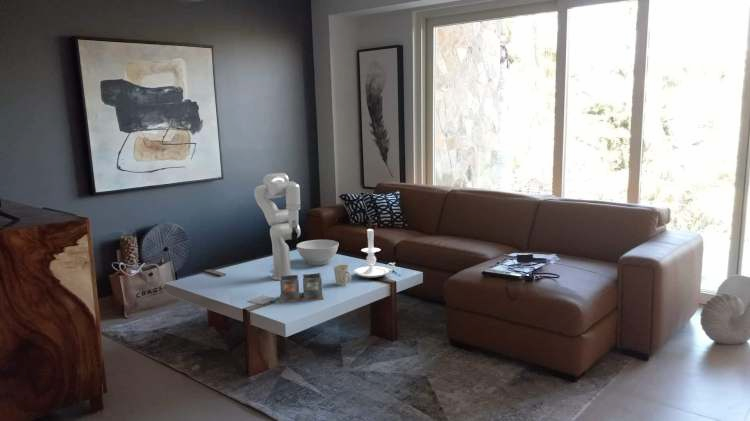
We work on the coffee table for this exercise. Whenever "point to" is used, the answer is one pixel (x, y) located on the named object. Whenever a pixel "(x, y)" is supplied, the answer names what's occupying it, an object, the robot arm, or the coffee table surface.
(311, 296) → the dark grey boxy container
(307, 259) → the decorative bowl
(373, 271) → the candlestick
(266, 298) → the mat
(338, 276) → the mug
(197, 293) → the coffee table surface
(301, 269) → the coffee table surface
